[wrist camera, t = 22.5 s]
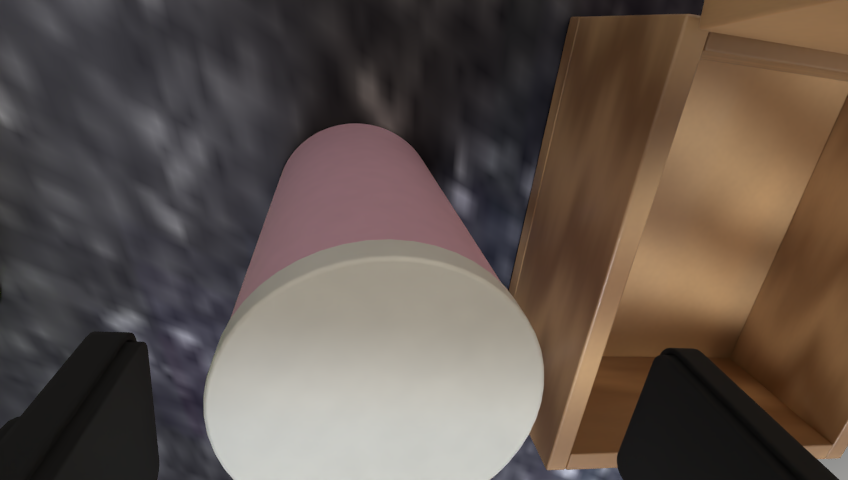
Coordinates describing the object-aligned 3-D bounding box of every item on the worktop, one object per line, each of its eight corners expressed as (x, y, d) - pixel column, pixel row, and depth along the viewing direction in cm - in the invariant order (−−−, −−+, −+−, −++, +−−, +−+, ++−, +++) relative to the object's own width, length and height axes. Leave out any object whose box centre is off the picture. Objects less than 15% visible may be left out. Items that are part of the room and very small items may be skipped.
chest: (726, 360, 27) (840, 458, 21) (492, 358, 24) (546, 471, 18) (858, 63, 21) (1072, 80, 15) (570, 16, 18) (687, 13, 12)
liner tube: (460, 163, 20) (608, 329, 9) (392, 288, 22) (448, 550, 11) (314, 92, 18) (283, 196, 7) (252, 236, 20) (154, 493, 9)
